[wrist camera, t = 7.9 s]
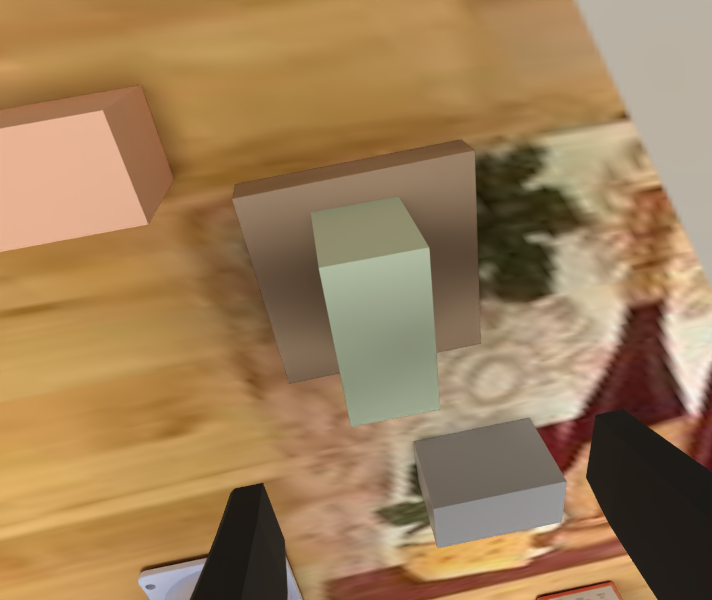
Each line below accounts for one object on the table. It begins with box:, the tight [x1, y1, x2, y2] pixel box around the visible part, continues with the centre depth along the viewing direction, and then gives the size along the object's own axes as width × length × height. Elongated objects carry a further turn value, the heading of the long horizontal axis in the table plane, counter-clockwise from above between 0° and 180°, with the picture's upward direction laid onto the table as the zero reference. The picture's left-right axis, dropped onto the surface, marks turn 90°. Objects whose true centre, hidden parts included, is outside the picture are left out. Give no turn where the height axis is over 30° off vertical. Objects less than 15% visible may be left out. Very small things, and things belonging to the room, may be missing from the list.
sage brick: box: [311, 197, 440, 427], centre depth 17 cm, size 6×3×4 cm, turn 8°
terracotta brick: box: [0, 85, 174, 252], centre depth 14 cm, size 6×3×4 cm, turn 98°
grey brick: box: [414, 418, 567, 548], centre depth 24 cm, size 6×3×4 cm, turn 98°
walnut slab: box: [232, 140, 481, 384], centre depth 19 cm, size 8×8×2 cm
